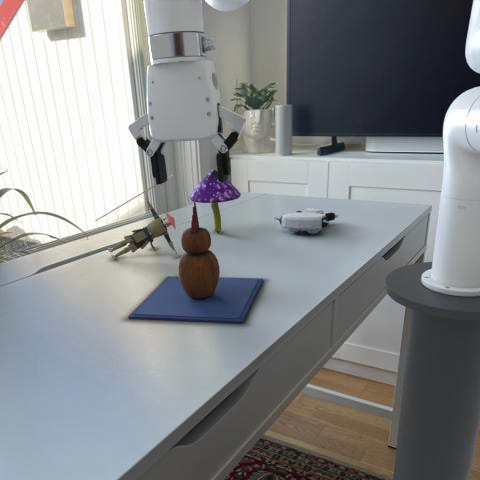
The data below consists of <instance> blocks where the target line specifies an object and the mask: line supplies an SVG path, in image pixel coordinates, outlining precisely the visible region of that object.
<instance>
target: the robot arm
mask: <svg viewBox="0 0 480 480" xmlns="http://www.w3.org/2000/svg"><path fill="white" fill-rule="evenodd" d="M250 1H251V0H204V2H206V3H207V4H208V5H209V6H210V7H211V8H212V9H215V10H217V11H219V12H231V11H235V10H237V9H239V8H240V7H242V6H244V5H245V4H247V3H249V2H250ZM142 3H143V7H144V17H145V23H146V24H145V25H146V31H147V38H148V39H147V40H148V46H149V55H150V63H151V64H148V65H147V67H146V68H147V69H146V106H147V107H146V109H147V111H146V112H144V114H143V115H141V116H140V117H138V118H137V119H136V120H134V121H132V122H131V123H130V124H129V125H128V131H129V133H130V134H131V136H132V137H133V138H134V140H135V142H136V144H137V146H138V147H139V148H140V149H141V150H142V151H143V152H145V154H146V156H147V157H148V158H149V159H150V166H151V167H150V168H151V173H152V174H151V175H152V177H153V178H154V180H155V185H156V184H157V185H156V186H159V185H162V184H164V183H166V182H168V179H167V177H168V173H167V164H166V157H165V154H164V153H162V150H163V148H164V147H165V145H166V143H176V142H178V143H179V142H193V141H195V142H196V141H206V140H209V141H210V142H211V143H212V144H213V145H214V147H215V148H216V149H217V150H218V152H217V153H216V154H215V160H216V171H217V172H218V181H220V182H224V181H226V180H228V179H229V176H230V175H231V171H232V169H231V168H232V167H231V158H230V157H231V155H230V151H231V150H232V148H233V147H234V146H235V144H236V143H238V141H239V140H240V138H241V135H242V132H243V130H244V128H245V125H246V122H247V118H246V117H244V116H242V115H241V114H239V113H237V112H234V111H232V110H231V109H229V108H226V107H224V106H223V105H222V98H221V92H220V86H219V80H218V76H217V71H216V68H215V64H214V61H213V60H208V58H207V57H208V56H209V52H211V51H215V50H216V49H217V41H216V38H215V37H211V38H210V37H208V36H207V34H206V33H205V24H204V13H203V0H143V2H142ZM464 52H465V53H464V55H465V60H466V63H467V65H468V66H469V68H470V69H471V70H472V71H474V73H477V74H480V0H472V6H471V11H470V17H469V23H468V28H467V35H466V40H465V51H464ZM443 119H444V120H443V125H442V144H443V145H442V146H443V171H442V182H441V189H440V197H439V206H438V213H437V221H436V230H435V237H434V238H435V239H434V245H433V246H434V247H433V254H432V261H431V262H432V269H430V270H427V271H425V272H424V273H423V274H422V277H421V283H422V284H423V285H424V286H425V287H427V288H428V289H430V290H433V291H435V292H438V293H442V294H447V295H453V296H463V297H476V296H480V85H479V86H475V87H473V88H470V89H468V90H466V91H464V92H462V93H461V94H460V95H458V96H457V97H456V98H455V99H454V100H453V101H452V103H451V104H450V105H449V107H448V109H447V111H446V113H445V117H444V118H443ZM225 121H228V122H229V123H231V124H232V129H231V132H230V133H229V134H228V136H227V137H226V136H225V135H224V131H225ZM146 126H148V127H149V132H150V133H149V134H150V136H151V139H152V140H150V139H149V138H148V137H147V136H145V133H144V131H143V129H144V128H145V127H146Z"/></svg>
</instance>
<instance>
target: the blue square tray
mask: <svg viewBox="0 0 480 480" xmlns="http://www.w3.org/2000/svg"><path fill="white" fill-rule="evenodd" d="M263 282H264V278H260V277H259V278H257V277H256V278H255V277H253V278H251V277H219V280H218V284H217V287H216V290H215V292H214V293H213V294H212V295H211V296H209V297H206V298H203V299H192V298H190V297H189V296H188V295H187V294H186V293H185V291H184V289H183V287H182V285H181V282H180V279H179V276H175V275H174V276H171V275H170V276H169V275H168V276H167V277H166V278H165V279H164V280H163V281H162V282H160V284H159V285H158V286H157V287H156V288H155V289H154V290H153V291H152V292H151V293H150V294H149V295H148V296H147V297H146V298H145V299H143V301H142V302H141V303H140V304H139V305H138V306H137V307H136V308H135V309H134V310H133V311H132V312H131V313H130V314H129V315H128V319H130V320H152V321H153V320H154V321H176V322H198V323H200V322H201V323H220V324H244V322H245V319H246V317H247V315H248V313H249V311H250V309H251V307H252V305H253V303H254V300H255V299H256V296H257V294H258V292H259V291H260V288H261V286H262V284H263Z"/></svg>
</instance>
